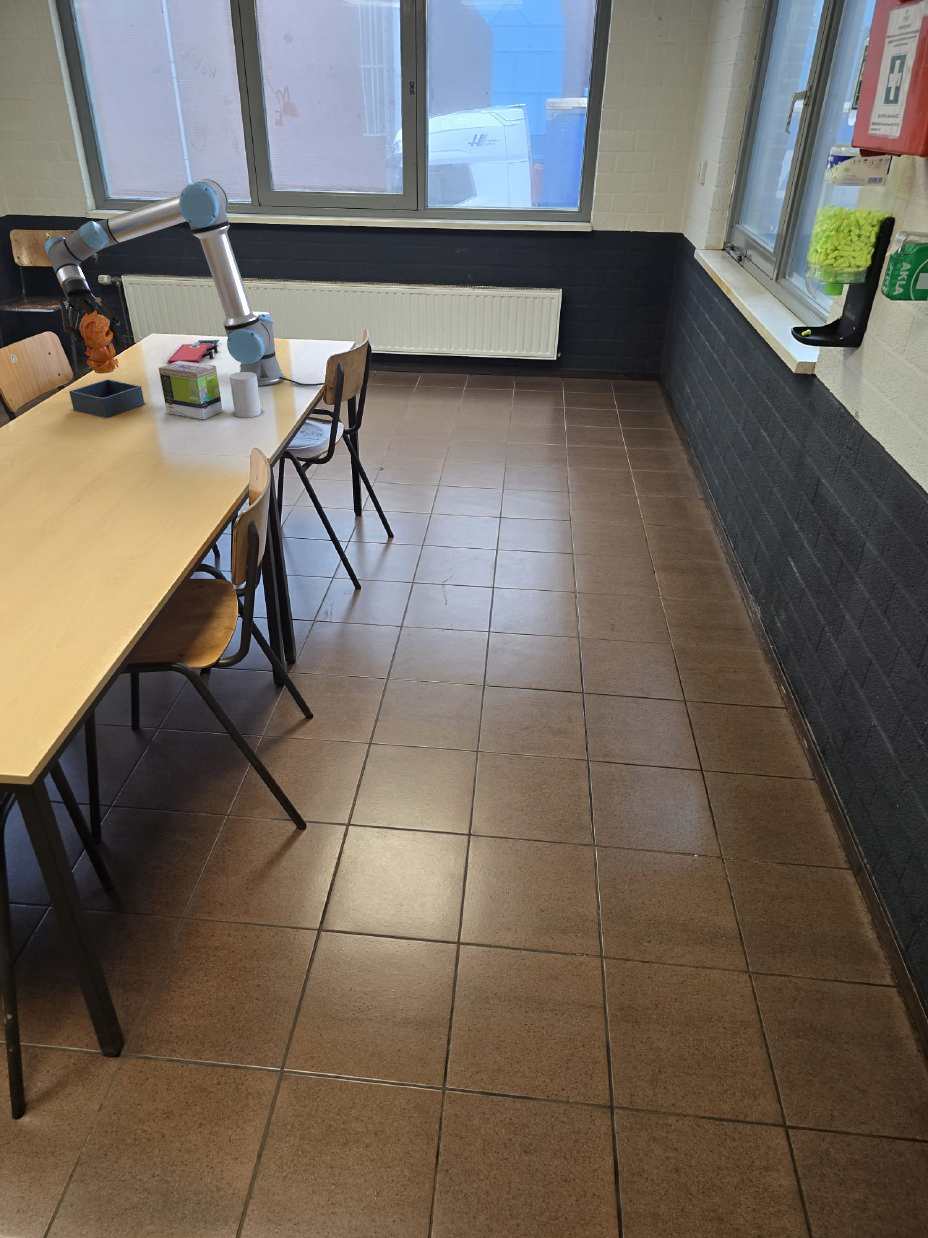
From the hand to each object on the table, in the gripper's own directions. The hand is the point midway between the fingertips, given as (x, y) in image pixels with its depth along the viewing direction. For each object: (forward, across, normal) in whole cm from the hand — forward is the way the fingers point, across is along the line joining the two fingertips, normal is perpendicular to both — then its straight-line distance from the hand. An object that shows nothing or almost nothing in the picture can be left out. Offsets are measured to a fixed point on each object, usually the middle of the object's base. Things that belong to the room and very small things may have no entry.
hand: (102, 347), depth 259 cm
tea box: (+27, -19, -1) cm, 33 cm away
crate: (+12, +1, -16) cm, 20 cm away
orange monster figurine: (+4, 0, -8) cm, 9 cm away
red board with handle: (-20, -48, -48) cm, 71 cm away
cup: (+34, -32, +6) cm, 48 cm away
